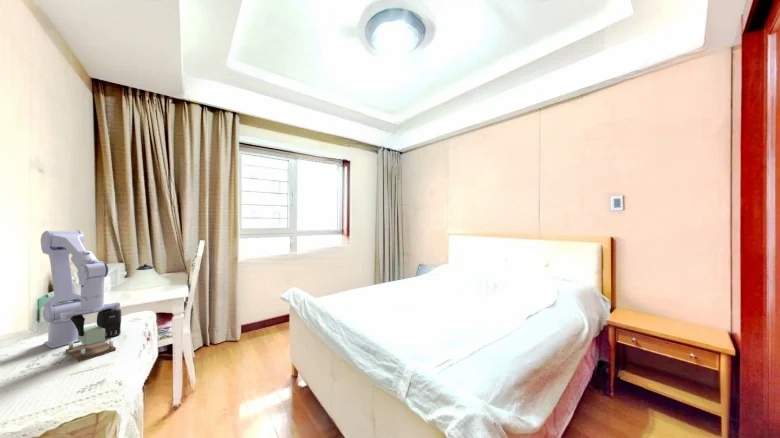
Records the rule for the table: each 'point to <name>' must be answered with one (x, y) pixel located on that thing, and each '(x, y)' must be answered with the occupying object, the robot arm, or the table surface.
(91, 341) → the pale green block
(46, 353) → the table surface
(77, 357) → the chassis
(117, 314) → the battery charger
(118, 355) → the table surface
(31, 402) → the table surface
